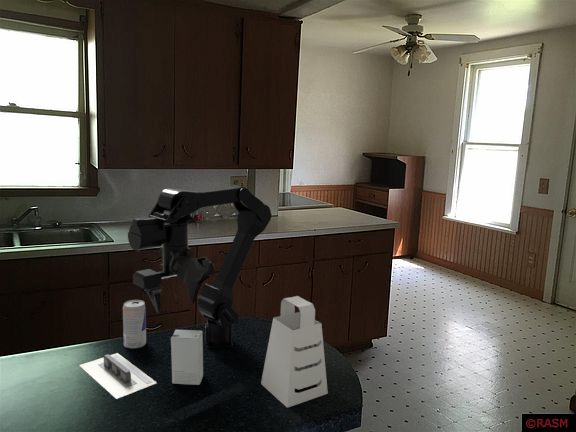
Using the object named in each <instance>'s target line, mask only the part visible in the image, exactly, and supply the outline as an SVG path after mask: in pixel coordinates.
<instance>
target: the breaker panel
mask: <svg viewBox="0 0 576 432" xmlns="http://www.w3.org/2000/svg"><path fill="white" fill-rule="evenodd" d="M109 355H110V356H111V357H113V358H114V359H115V360H116V361H118V362H119V363H120V364H122V365H123V366H124V367H125V368H127V369H128V370H129V371H130V373H131V382H129V383H126V384H125V383H124V382H123V381H122V380H121V375H119V376H116V375H115V374H113V373H112V368H111V369H107V368H106V367H105V366H104V357H100V358H98V359H97V358H96V359H95V360H91V361H88V362H85V363H81V364H78V365H79V367H80V368H81V369H83V370H84V371H85V373H87V374H88V375H89V377H91V378H93V379H94V381H96V383H98V384H99V385H100V387H103V389H104V390H105V391H107V392H108V393H109V394H110V395H111V396H112V397H113V398H114V399H116V400H118V399H120V398H123V397H125V396H129V395H130V394H133V393H135V392H138V391H141V390H143V389H146V388H149V387H150V386H153V385H156V384H158V383H157V381H156V380H154V379H153V378H152V377H150V376H148V375H147V374H146V373H145V372H144V371H143V370H141V369H140V368H138V367H137V366H136V365H134V364H132V363H131V362H130V361H129V360H128V359H126V358H125V357H124V356H122V355H121V354H119V353H118V352H116V353H113V354H109Z"/></svg>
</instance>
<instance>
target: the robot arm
mask: <svg viewBox="0 0 576 432" xmlns="http://www.w3.org/2000/svg"><path fill="white" fill-rule="evenodd" d="M227 204H232V205H233V208H234V209H235V210H236V212H237V215H238V216H237V219H236V223H237V231H236V234H235V236H234V238H233V241H232V243H231V244H230V247H229V249H228V251H227V254H226V255H225V258H224V260H223V261H222V264H221V266H220V269H219V272H218V273H217V275H216V278H215V279H214V280H213V282H212V283H210V284H207V283H204V282H205V281H206V280H207V279H210V277H211V276H212V275H215V273H216V272H215V271H216V270H215V269H216V268H215V265H214V263H213V262H212V261H210V259H209V258H208V257H207V256H202V257H199V258H198V257H196V258H194V257H193V251H192V248H190V247H189V225H193V224H196V223H197V219H195V218H194V217H193V216H191V214H194V213H196V212H197V211H198V210H200V209H203V208H209V207H214V206H222V205H227ZM272 216H273V215H272V212H271V208H270V207H269V206H268V205H267V204H265V203H264V202H263V201H262V200H261V199H259V198H258V197H257V196H255V195H254V194H253V193H252V192H251V191H250V190H249V188H247V187H246V186H242V185H241V186H240V185H235V184H233V185H231V186H226V187H225V186H224V187H217V188H209V189H208V188H207V189H200V190H189V189H181V188H180V189H179V188H165V189H163V190H161V193H160V194H159V196H158V199H157V202H156V203H155V205H154V206H153V208H152V210H151V211H150V213H149V215H148V217H145V218H138V217H137V218H133V219H132V224H131V225H130V226H129V229H128V232H127V239H128V243H129V245H130V246H129V247H130V248H131V249H132V250H134V251H141V250H148V249H154V248H159V252H161V253H162V263H159V269H161V270H162V271H155V270H153V269H150V268H147V269H141V270H137V271H135V272H134V273H133V275H132V284H133V285H136V286H137V287H139V288H141V289H143V290H144V291H145V292H146V294H147V295H148V297H149V300H150V302H151V304H152V306H153V308H154V309H155V313H157V314H160V313H161V304H162V302H161V292H162V290H163V289H164V288H163V286H161V284H162V282H163V280H167V279H173V278H176V277H178V278H179V280H180V281H181V282H182V283H183V284H187V286H188V297H189V302H190V304H195V303H197V304H196V306H197V310H198V311H199V312H200V313H201V316H202V318H203V319H206V320H207V323H206V324H205V325H204V343H205V344H206V348H207V349H220V348H221V349H224V348H233V345H234V344H233V326H234V325H235V324H237V323H238V321H239V317H240V315H239V313H237V312H236V311H235V310H234V309H233V308H232V306H233V302H234V290H233V289H234V286H235V284H236V281H237V280H238V278H239V277H238V276H240V275H239V274H240V272H241V270H242V268H243V265H244V264H245V262H246V259H247V257H248V254H249V252H250V250H251V248H252V245H253V244H254V240H255V239H256V238H257V237H258V236H259V235H261V234H262V233H263V232H264V231H265V230H266V228H267V226H268V225H269V223H270V222H271V219H272ZM203 283H204V284H203ZM201 286H202V288H201ZM200 288H201V291H200ZM199 291H200V293H199ZM198 294H199V295H198ZM196 299H198V300H197V302H196Z"/></svg>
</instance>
